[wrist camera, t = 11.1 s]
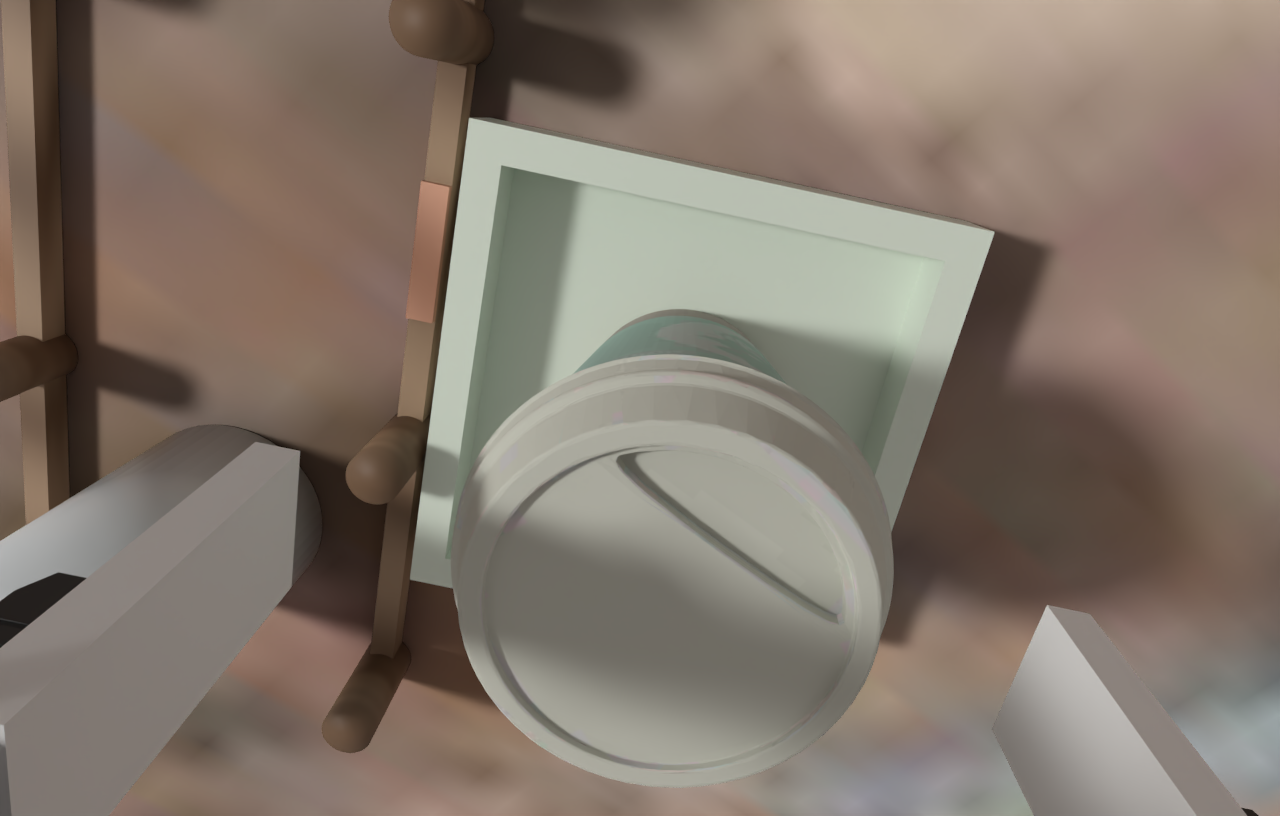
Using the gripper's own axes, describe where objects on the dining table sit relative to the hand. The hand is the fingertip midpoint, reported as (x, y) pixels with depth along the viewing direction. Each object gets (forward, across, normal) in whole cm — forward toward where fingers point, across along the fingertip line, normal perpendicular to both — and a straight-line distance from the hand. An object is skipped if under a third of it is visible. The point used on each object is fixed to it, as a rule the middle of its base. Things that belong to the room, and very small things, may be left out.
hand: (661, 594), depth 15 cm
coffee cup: (+12, 0, -1) cm, 12 cm away
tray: (+12, 0, -1) cm, 12 cm away
